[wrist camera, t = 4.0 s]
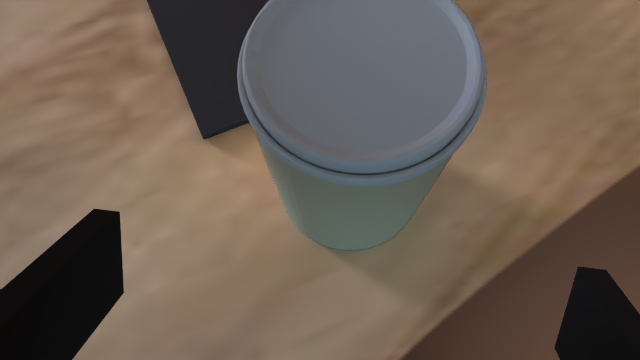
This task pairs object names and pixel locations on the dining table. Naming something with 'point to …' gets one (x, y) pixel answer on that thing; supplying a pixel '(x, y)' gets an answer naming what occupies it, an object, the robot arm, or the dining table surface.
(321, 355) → the dining table surface
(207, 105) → the coaster
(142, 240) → the dining table surface
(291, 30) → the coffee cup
